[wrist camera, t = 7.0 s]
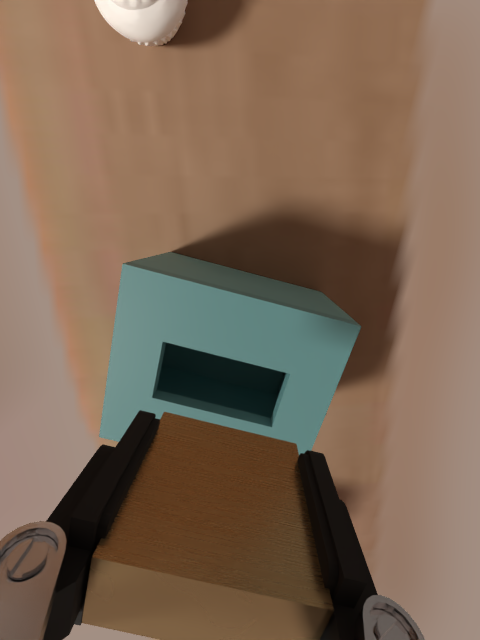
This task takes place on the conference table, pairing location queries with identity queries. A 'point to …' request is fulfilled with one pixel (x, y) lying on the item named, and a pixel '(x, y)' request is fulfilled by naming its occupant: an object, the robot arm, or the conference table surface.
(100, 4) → the white carved egg
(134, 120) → the conference table surface
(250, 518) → the tan wooden brick
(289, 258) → the conference table surface
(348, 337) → the teal slotted box
